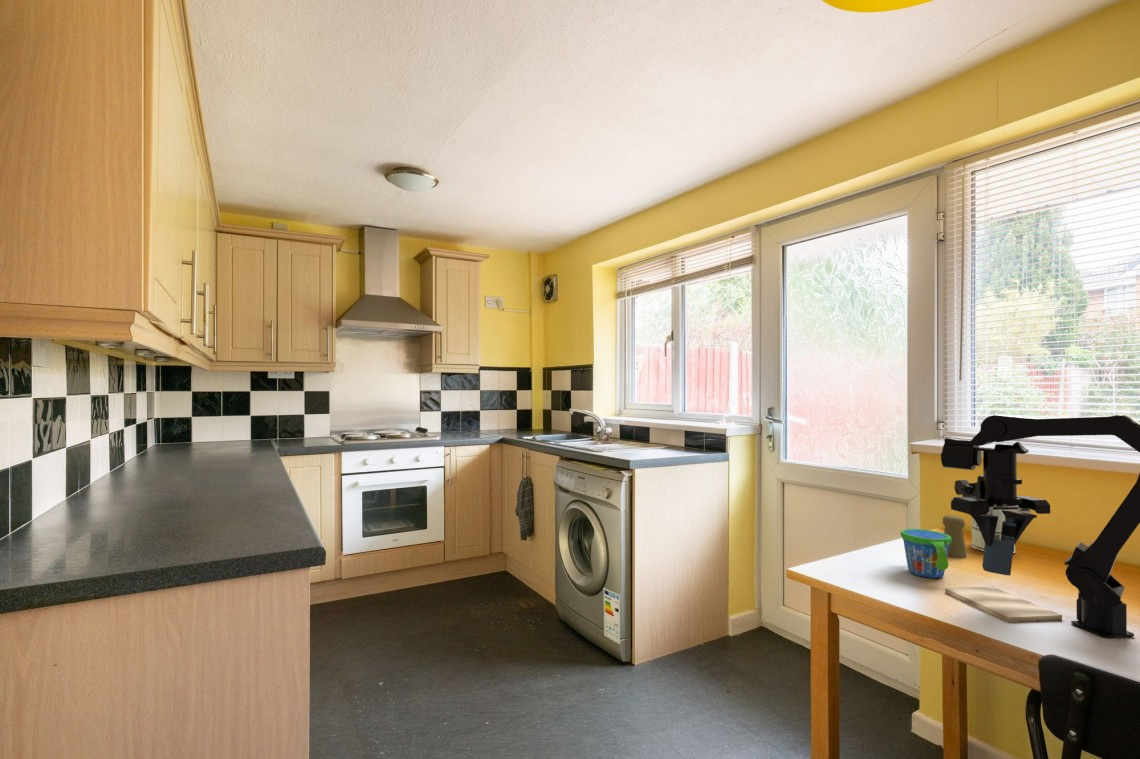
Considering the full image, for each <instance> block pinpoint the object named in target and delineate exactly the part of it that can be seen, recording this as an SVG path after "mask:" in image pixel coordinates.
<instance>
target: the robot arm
mask: <svg viewBox="0 0 1140 759" xmlns="http://www.w3.org/2000/svg"><path fill="white" fill-rule="evenodd" d="M1056 436H1057V437H1060V436H1062V437H1063V436H1064V437H1065V436H1068V437H1070V436H1071V437H1072V436H1073V437H1074V436H1078V437H1079V436H1115V437H1116V438H1118V439H1119V440H1121V441H1122V442H1124V443H1126V444H1127V445H1128V446H1129V447H1131V448H1132V449H1134V450H1135V451H1137V452H1138V453H1140V424H1139V423H1138V422H1136V421H1134V419H1133V418H1131V416H1128V415H1125V414H1114V415H1107V416H1106V415H1104V416H1076V417H1075V416H1073V417H1047V418H1046V417H1045V418H1043V417H1042V418H1038V417H1028V416H1022V415H1021V416H1020V415H1010V414H994V415H990V416H987V417H985V418H984V419H983V420H982V421H981V423H980V431H978V433H977V434H976V435H975V436H973V437H972V438H971V439H960V438H959V439H957V438H955V437H954V438H953V437H947V438H944V443H943V445H942V451H941V452H940V462H941V465H942V467H943V468H947V469H948V468H949V469H958V470H968V471H975V469H976V468H977V467H980V466H981V465H982V467H983V468H982V472H983V475H978V476H977V480H976V482H969V481H968V480H967V479H958V480H955V481H954V491H955V495H957V496H954V497H953V498H952V499H951V500H950V510H953V511H956V512H960V513H962V514H966V515H969V516H970V517H971V518H972V517H973V518H974V520H975V521H976V523H977V525H978V527H979V529H980V532H981V534H982V537H983V539H984V541H985V544H986V545H988V546H992V543H993V540H994V536H995V531H996V526H997V522H998V516H995V515H993V510H1001V511H1002V512H1003V514H1004V515H1005V517H1006V520H1007V518H1012V519H1013V523H1016V527H1015V528H1016V532H1015V541H1014V542H1015V544H1014V545H1015V546H1016V545H1017V544H1016V543H1017V542H1018V541H1019V539H1020V538H1021V536H1022V535H1023V532H1025V530H1026V528H1027V527H1029V525H1030V523H1031V522H1032V521H1033V520H1034V519H1037V517H1038V515H1036V514H1039V515H1048V514H1049V515H1050V514H1051V504H1050V503H1049V501H1048V500H1047V499H1042V498H1039V497H1033V496H1028V495H1018V494H1017V493H1018V492H1017V491H1018V487H1017V486H1018V485H1023V479H1022V478H1018V475H1017V473H1018V472H1017V471H1018V470H1017V469H1018V467H1017V464H1018V463H1017V462H1018V460H1017V458H1018V457H1017V454H1019V455H1026V454H1028V453H1030V452H1029V451H1030V450H1029V449H1028V448H1026V447H1025V446H1024V445H1022V444H1021V442H1020V441H1018V440H1022V439H1027V438H1028V439H1029V438H1034V437H1056ZM1016 440H1017V441H1016ZM1010 441H1015V442H1014V443H1013V444H1002V443H1003V442H1010ZM1001 442H1002V443H1001ZM992 443H996V444H995V445H994V447H982V446H986V445H990V444H992ZM982 452H983V453H982ZM982 462H983V464H982ZM980 499H982V500H980ZM994 505H995V506H994ZM1003 509H1007V510H1003ZM1031 510H1032V511H1034V512H1035V514H1032V511H1031ZM1139 525H1140V472H1139V473H1138V476H1137V479H1136V482H1135V483H1134V485H1133V486H1132V488H1131V489H1130V491H1129V492H1128V493H1127V495H1126V496H1125V498H1124V499H1123V500H1122V502H1121V503H1120V505H1119V506H1118V507H1117V509H1116V510H1115V512H1114V513H1113V514H1112V516H1111V518H1110V519H1109V521H1108V522H1107V523H1106V524H1105V526H1104V528H1103V529H1102V531H1101V532H1100V534H1099V535H1098V536H1097V538H1096V539H1094V540H1093V541H1092V543H1089V545H1088V546H1087V545H1086V544H1084V543H1083V542H1082V541H1080V542H1078V544H1077V545H1076V546H1075V548H1074V551H1073V552H1072V555H1070V556H1069V557H1068V558H1067V559H1066V560H1065V562H1064V565H1066V566H1067V567H1066V569H1065V576H1066V579H1067V581H1068V582H1069V583H1070V584H1071V585H1072V586H1074V587H1075V588H1077V590H1078V592H1077V598H1076V602H1075V603H1076V620H1071V621H1070V622H1071V624H1072V625H1074V626H1077V627H1078V628H1081V629H1083V630H1085V631H1089V632H1091V633H1094V634H1095V635H1098V636H1100V637H1102V638H1107V639H1108V638H1109V639H1110V638H1126V637H1127V638H1128V637H1129V638H1130V637H1131V638H1132V637H1135V633H1134V632H1131V631H1128V629H1127V628H1128V626H1127V622H1128V621H1127V619H1128V618H1127V617H1128V616H1127V615H1128V614H1127V612H1128V611H1127V610H1128V609H1127V607H1128V606H1127V603H1125V602H1123V601H1122V596H1123V594H1124V592H1125V588H1126V587H1125V586H1124V585H1123V584H1122V583H1121V582H1120V581H1119V580H1117V579H1116V578H1115V577H1114V576H1113V575H1111V572H1112V571H1113V567H1114V564H1115V563H1116V559H1117V558H1118V554H1119V552H1120V551H1121V549H1123V547H1124V546H1125V544H1126V542H1127V541H1128V540H1129V539H1130V537H1131V536H1132V534H1133V533H1134V532H1135V530H1137V528H1138V526H1139ZM1013 527H1014V526H1013Z"/></svg>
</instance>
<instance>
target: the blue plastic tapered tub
mask: <svg viewBox="0 0 1140 759" xmlns="http://www.w3.org/2000/svg"><path fill="white" fill-rule="evenodd" d="M900 537H901V538H902V540H903V546H904V553H905V558H906V564H907V570H908V571H909V572H910V573H912V574H914V575H916V576H919V577H922V578H923V577H924V578H931V579H937V578H938V579H940V578H942V577H944V576H945V572H946V570H947V569H948V568H949V562H948V557H947V555H948V547H949V545H950V543H951V542H952V539H951V537H950V536H949V535H947V534H944V532H939V531H936V530H930V529H923V528H922V529H921V528H905V529H902V530H901V531H900Z"/></svg>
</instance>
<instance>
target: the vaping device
mask: <svg viewBox="0 0 1140 759" xmlns="http://www.w3.org/2000/svg"><path fill="white" fill-rule="evenodd" d="M1013 526H1014V527H1013ZM1015 527H1016V523H1013V519H1012V518H1007V521H1003V522H1002V531H1001V539H999V538H1000V535H999V534H995V536H994V540H993V543H992V546H988V545H986V544H985V546H984V552H983V556H982V569H983V570H984V571H985V572H988V573H992V574H997V575H1002V576H1011V573H1012V566H1013V555H1014V554H1013V552H1014V544H1015V542H1014V541H1015V532H1016V528H1015ZM1015 545H1016V544H1015Z"/></svg>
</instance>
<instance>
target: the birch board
mask: <svg viewBox="0 0 1140 759" xmlns="http://www.w3.org/2000/svg"><path fill="white" fill-rule="evenodd" d="M944 593H946V594H947V593H948V594H947V595H949V594H950V595H949V596H952V597H953V598H955V599H958V598H959V599H958V600H960V599H961V600H960V601H962V600H963V602H964V601H965V603H966V602H968V603H970V604H969V605H971V604H972V605H971V606H973V605H974V606H973V607H975V606H976V607H975V608H977V607H978V608H977V609H979V608H980V610H981V609H983V610H984V612H985V611H986V613H988V614H990V615H992V616H994V617H996V616H997V617H996V618H998V617H999V618H998V619H1000V618H1001V619H1000V620H1002V619H1003V620H1002V621H1004V620H1006V621H1005V622H1007V621H1008V622H1007V623H1019V622H1018V621H1030V622H1046V621H1047V622H1050V621H1051V622H1052V621H1053V622H1054V621H1063V614H1060V613H1059V612H1055V611H1054V610H1051V609H1049V608H1046V607H1044V606H1041V605H1039V604H1036V603H1034V602H1032V601H1029V600H1026V599H1024V598H1022V597H1020V596H1017V595H1014V594H1012V593H1010V592H1007V591H1005V590H1002V589H1000V588H997V587H995V586H968V587H967V586H965V587H945V589H944ZM968 603H967V604H968ZM983 610H982V611H983ZM1037 620H1039V621H1037ZM1049 620H1050V621H1049Z"/></svg>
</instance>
